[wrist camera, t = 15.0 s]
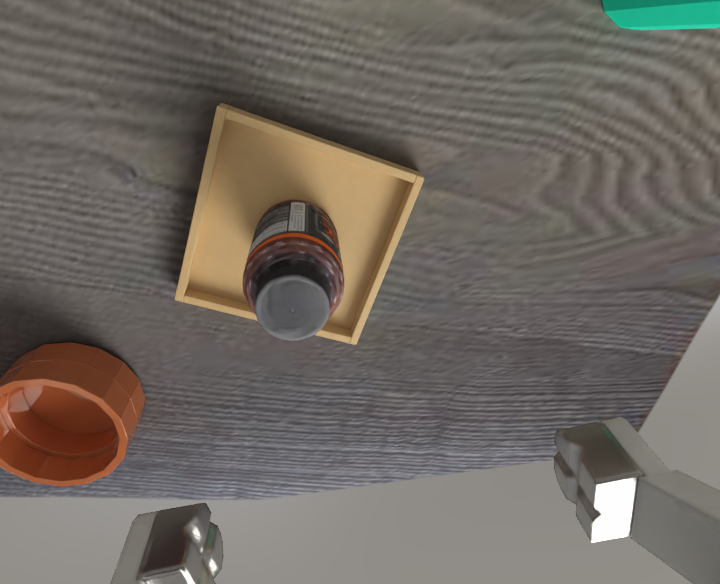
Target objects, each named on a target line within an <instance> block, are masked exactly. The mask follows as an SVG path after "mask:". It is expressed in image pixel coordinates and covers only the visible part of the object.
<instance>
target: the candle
mask: <svg viewBox="0 0 720 584" xmlns="http://www.w3.org/2000/svg"><path fill="white" fill-rule="evenodd" d="M602 2H603V8H604V12H605V13H606V14H607V15H608V16H609V17H610V18H611V19H612V20H613V21H614V22H615V23H616V24H617V25H618V26H619V27H620V28H628V29H636V30H663V29H700V28H720V0H602Z"/></svg>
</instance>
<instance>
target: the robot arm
mask: <svg viewBox="0 0 720 584" xmlns="http://www.w3.org/2000/svg"><path fill="white" fill-rule="evenodd" d="M554 443H555V445H556V447H557V448H558V450H559V451H558V453H557V454H556V455H555V457H554V469H555V473H556V477H557V481H558V483H559V485H560V488H561V490H562V492H563V494H564V495H565V497H566V499H568V500H569V501H571V502H572V503H574V504H576V505H577V507H576V516H577V518H578V520H579V522H580V524H581V525H582V527H583V529H584V530H585V532H586V534H587V535H588V537H589V539H590V541H591V542H598V541H604V540H609V539H615V538H621V537H626V536H631V539H633V540H634V541H635V542H637V543H638V544H639V545H641V546H642V547H644V548H645V549H646V550H648V551H649V552H650V553H652V554H653V555H655V556H656V557H657V558H659V559H660V560H661V561H663V562H664V563H666V564H667V565H668V566H670V567H671V568H672V569H674V570H675V571H676V572H678V573H679V574H680V575H682V576H683V577H684V578H686V579H687V580H689V581H690V582H691V583H693V584H720V490H718V489H715V488H713V487H711V486H709V485H707V484H705V483H703V482H701V481H699V480H696V479H695V478H693V477H691V476H688V475H687V474H684V473H682V472H680V471H678V470H675V471H670V470H669V469H668V468H667V467H666V465H665V464H664V463H663V462H662V461H661V460H660V458H659V457H658V456H657V455H656V454H655V453H654V451H653V450H652V449H651V448H650V447H649V446H648V444H647V443H646V442H645V441H644V440H643V439H642V437H641V436H640V435H639V434H638V433H637V432H636V430H635V429H634V428H633V427H632V426H631V425H630V423H629V422H628V421H627V420H626V419H624V418H622V417H619V418H615V419H610V420H605V421H600V422H594V423H590V424H585V425H580V426H576V427H571V428H567V429H562V430H557V431H556V433H555V439H554ZM210 516H211V511H210V510H209V508H208V506H207V504H206V503H200V504H194V505H188V506H183V507H177V508H171V509H166V510H160V511H156V512H151V513H145V514H139V515H138V516H137V517H136V518H135V519H134V521H133V522H132V525H131V528H130V530H129V533H128V536H127V539H126V541H125V544H124V547H123V550H122V552H121V555H120V558H119V561H118V564H117V567H116V569H115V572H114V575H113V577H112V580H111V583H110V584H215V582H214V578H215V577H216V576H217V574H218V573H219V572H220V570H221V568H222V561H223V541H222V537H221V533H220V531H219V528H218V526H217V525H215V524H213V523H212V522H210Z"/></svg>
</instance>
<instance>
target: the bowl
mask: <svg viewBox="0 0 720 584" xmlns="http://www.w3.org/2000/svg"><path fill="white" fill-rule="evenodd" d="M144 405H145V396H144V393H143V390H142V387H141V384H140V380H139V379H138V377H137V376H136V375H135V374H134V373H133V372H132V371H131V370H130V368H129V367H128V366H127V365H126V364H125V363H124V362H123V361H121V360H120V359H118V358H116V357H114V356H113V355H111V354H109V353H107V352H105V351H104V350H102V349H100V348H96V347H92V346H87V345H83V344H78V343H74V342H66V343H55V344H45V345H42V346H40V347H38V348H36V349H34V350H32V351H30V352H28V353H26V354H23V355H22V356H21V357H20V358H19V359H18V360H17V361H16V362H15V363H14V364H13V366H12V367H11V368H10V369H9V370H8V371H7V372H6V373H5V374H4V376H3V377H2V378H1V379H0V466H1V467H2V468H3V469H4V470H5V471H8V472H10V473H12V474H15V475H17V476H19V477H22V478H24V479H26V480H29V481H31V482H35V483H41V484H48V485H54V486H61V487H62V486H72V485H81V484H88V483H90V482H93V481H95V480H97V479H99V478H102V477H104V476H106V475H108V474H110V473H111V472H112V471H113V470H114V469H115V468H116V467H117V466H118V464H119V463H120V462H121V461H122V460H123V459H124V457H125V455H126V453H127V450H128V448H129V446H130V443H131V441H132V439H133V436H134V434H135V432H136V429H137V427H138V425H139V423H140V420H141V418H142V414H143V409H144Z"/></svg>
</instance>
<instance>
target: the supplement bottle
mask: <svg viewBox="0 0 720 584" xmlns="http://www.w3.org/2000/svg"><path fill="white" fill-rule="evenodd" d="M343 292H344V273H343V265H342V259H341V254H340V247H339V241H338V234H337V230H336V228H335V226H334V223H333V222H332V220H331V218H330V217H329V215H328V214H327V213H326V212H325V211H324V210H323V209H322V208H320V207H319V206H317V205H316V204H314V203H311V202H309V201H305V200H286V201H282V202H280V203H277V204H275V205H274V206H272V207H271V208H269V209H268V210H267V211H266V212H265V213H264V214H263V216H262V217H261V219H260V220H259V222H258V225H257V227H256V230H255V233H254V237H253V240H252V244H251V247H250V251H249V254H248V258H247V262H246V265H245V270H244V273H243V293H244V296H245V299H246V302H247V304H248V306H249V307H250V309H251V310H252V312H253V313H254V314H255V315H256V317H257V320H258V322H259V323H260V325H261V326H262V327H263V329H264V330H265V331H266V332H268V333H269V334H271V335H272V336H275V337H277V338H279V339H283V340H290V341H296V340H302V339H306V338H309V337H311V336H313V335H314V334H316V333H317V332H319V331H320V330H321V329H322V327H323V326H324V325H325V324H326V322H327V320H328V318H329V317H330V316H331V315H332V314H333V313H334V312H335V311H336V309H337V308H338V306H339V304H340V302H341V299H342V296H343Z"/></svg>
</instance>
